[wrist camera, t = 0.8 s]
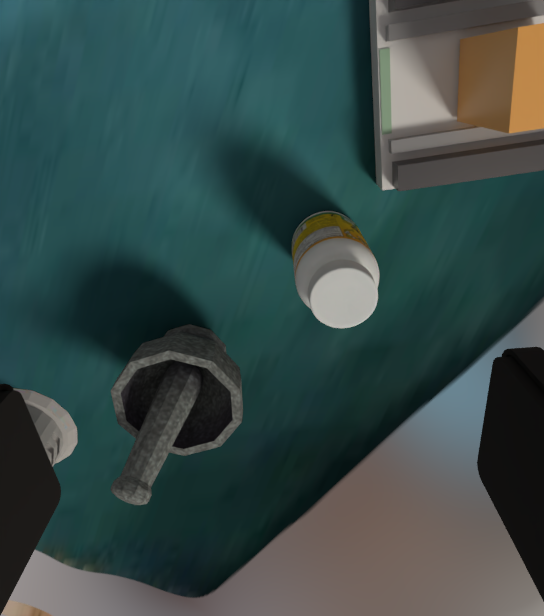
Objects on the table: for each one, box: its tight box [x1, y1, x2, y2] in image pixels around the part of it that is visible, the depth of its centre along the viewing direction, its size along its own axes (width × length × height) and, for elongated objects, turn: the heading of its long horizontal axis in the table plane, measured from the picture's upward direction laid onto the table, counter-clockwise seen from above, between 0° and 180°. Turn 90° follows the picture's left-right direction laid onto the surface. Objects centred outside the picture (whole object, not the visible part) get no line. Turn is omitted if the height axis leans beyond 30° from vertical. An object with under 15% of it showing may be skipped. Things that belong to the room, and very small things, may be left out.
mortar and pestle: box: [111, 324, 243, 505], centre depth 34 cm, size 11×9×12 cm
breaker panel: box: [369, 0, 544, 191], centre depth 28 cm, size 12×14×4 cm
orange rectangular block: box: [457, 23, 544, 133], centre depth 24 cm, size 4×4×7 cm
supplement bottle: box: [292, 211, 379, 328], centre depth 30 cm, size 5×5×10 cm
